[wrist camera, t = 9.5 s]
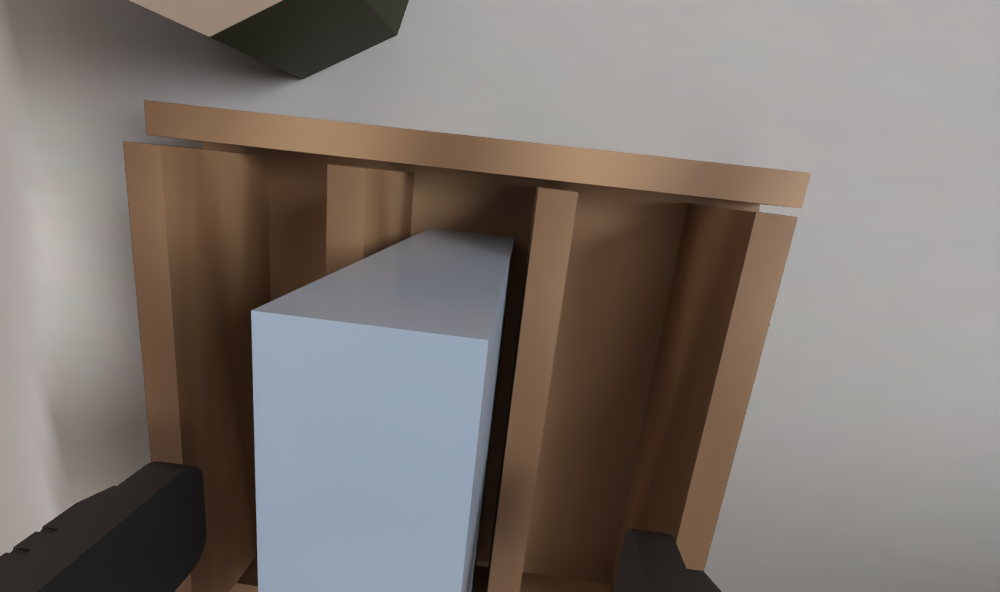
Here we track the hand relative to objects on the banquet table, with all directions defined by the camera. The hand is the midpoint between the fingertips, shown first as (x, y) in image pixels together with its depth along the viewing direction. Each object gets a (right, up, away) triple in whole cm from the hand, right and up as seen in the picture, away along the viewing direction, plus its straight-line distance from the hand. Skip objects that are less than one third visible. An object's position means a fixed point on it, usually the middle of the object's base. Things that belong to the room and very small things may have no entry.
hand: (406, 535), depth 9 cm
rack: (0, +2, +7) cm, 8 cm away
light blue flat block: (0, +1, +6) cm, 6 cm away
